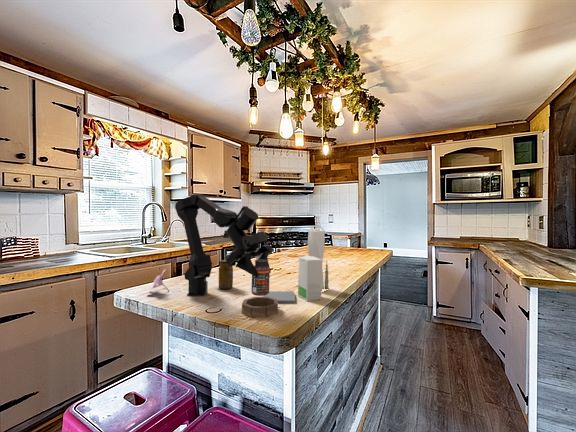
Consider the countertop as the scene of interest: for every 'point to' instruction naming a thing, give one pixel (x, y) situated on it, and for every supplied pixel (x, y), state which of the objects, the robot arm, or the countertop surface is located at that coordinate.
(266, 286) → the supplement bottle
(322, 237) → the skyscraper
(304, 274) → the skincare box
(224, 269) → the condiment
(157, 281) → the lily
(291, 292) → the pad
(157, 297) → the countertop surface
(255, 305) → the collar ring
